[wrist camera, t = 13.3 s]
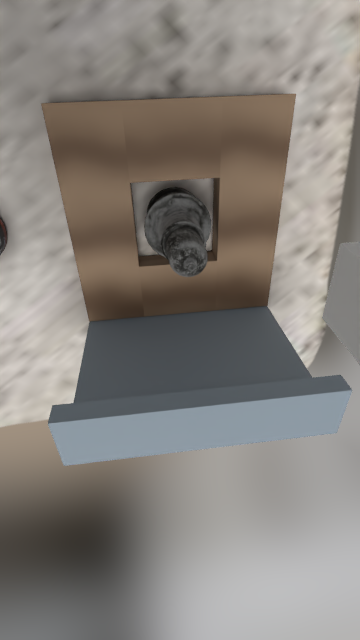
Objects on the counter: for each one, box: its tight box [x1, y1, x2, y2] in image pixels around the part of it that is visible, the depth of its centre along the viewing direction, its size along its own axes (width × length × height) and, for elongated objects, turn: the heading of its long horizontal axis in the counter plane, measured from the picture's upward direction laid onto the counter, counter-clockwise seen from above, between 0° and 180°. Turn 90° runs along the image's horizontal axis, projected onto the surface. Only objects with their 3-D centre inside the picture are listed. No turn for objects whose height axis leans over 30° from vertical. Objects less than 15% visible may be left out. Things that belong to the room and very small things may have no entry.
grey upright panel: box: [48, 306, 352, 466], centre depth 30 cm, size 4×20×18 cm, turn 92°
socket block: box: [41, 94, 296, 321], centre depth 31 cm, size 19×19×2 cm
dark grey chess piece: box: [144, 187, 211, 277], centre depth 27 cm, size 6×6×12 cm
